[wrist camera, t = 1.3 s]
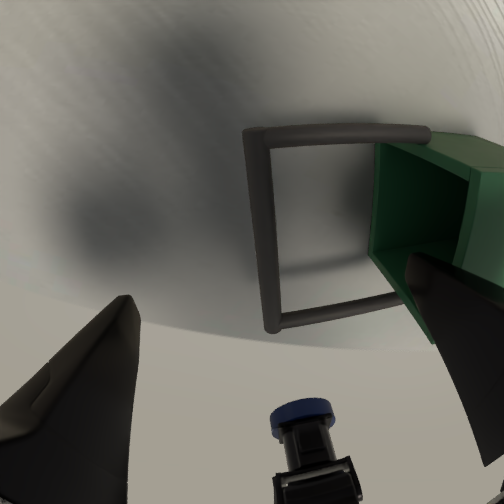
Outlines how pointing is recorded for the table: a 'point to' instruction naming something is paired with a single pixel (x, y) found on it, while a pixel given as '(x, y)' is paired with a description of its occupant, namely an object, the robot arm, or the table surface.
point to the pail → (391, 209)
